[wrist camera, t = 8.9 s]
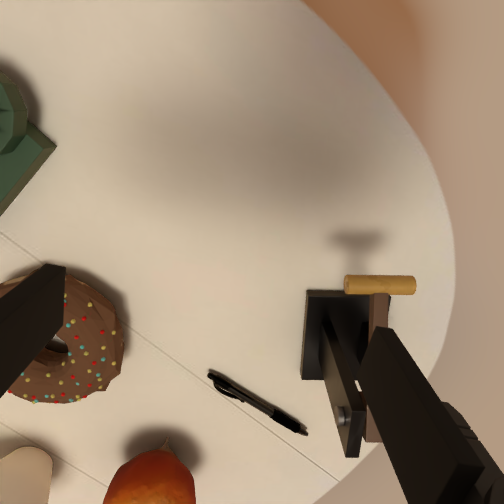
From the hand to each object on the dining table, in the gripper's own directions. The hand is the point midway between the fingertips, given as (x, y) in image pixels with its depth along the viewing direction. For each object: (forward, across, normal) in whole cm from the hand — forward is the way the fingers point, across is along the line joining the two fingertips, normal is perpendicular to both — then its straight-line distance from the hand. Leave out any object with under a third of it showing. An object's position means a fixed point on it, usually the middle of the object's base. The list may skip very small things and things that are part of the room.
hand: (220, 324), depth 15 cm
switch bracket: (+19, +13, -10) cm, 26 cm away
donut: (+19, -14, -16) cm, 29 cm away
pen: (+19, +7, -21) cm, 30 cm away
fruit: (+20, -2, -32) cm, 37 cm away
